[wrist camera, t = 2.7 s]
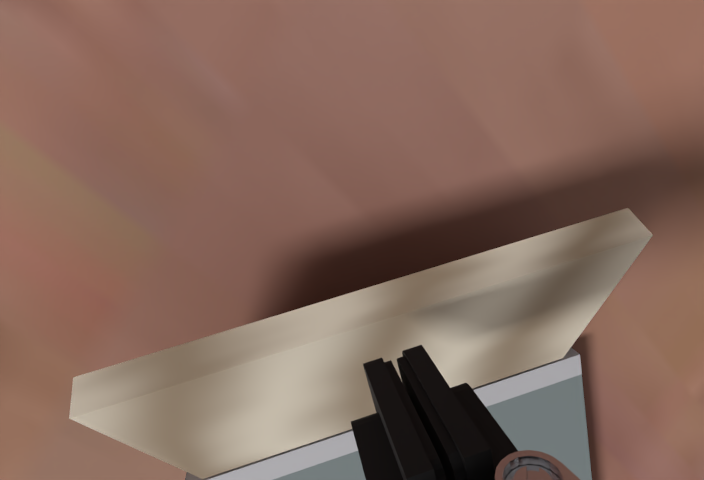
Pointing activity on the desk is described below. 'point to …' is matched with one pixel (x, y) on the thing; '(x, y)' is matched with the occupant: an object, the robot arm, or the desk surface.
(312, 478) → the grey rectangular panel
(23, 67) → the desk surface
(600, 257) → the plank
